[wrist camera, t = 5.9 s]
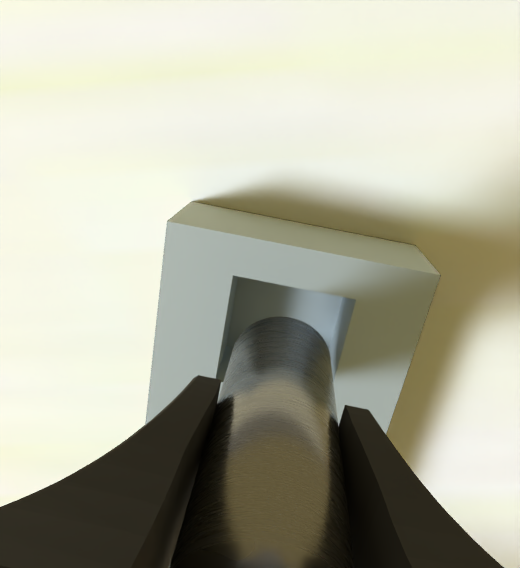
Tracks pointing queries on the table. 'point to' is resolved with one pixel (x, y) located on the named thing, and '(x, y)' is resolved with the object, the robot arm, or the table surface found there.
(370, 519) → the robot arm
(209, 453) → the peg
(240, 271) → the hole block
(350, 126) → the table surface
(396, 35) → the table surface
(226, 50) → the table surface
